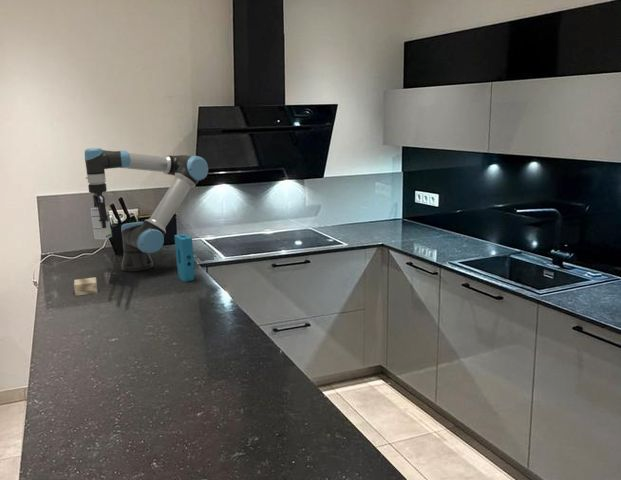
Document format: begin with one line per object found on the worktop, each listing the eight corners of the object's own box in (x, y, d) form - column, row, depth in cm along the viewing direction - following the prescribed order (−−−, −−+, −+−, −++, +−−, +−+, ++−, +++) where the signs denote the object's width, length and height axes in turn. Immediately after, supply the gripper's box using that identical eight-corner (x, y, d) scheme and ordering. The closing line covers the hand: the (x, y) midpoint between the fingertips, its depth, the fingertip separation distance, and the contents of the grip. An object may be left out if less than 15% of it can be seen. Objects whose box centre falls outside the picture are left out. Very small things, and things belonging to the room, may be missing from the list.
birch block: (97, 287, 259) (96, 277, 258) (97, 293, 251) (96, 282, 250) (75, 290, 256) (74, 279, 255) (75, 296, 248) (74, 285, 247)
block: (177, 276, 272) (173, 235, 268) (187, 274, 275) (184, 233, 270) (185, 282, 262) (181, 239, 258) (195, 280, 265) (192, 238, 260)
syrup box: (105, 239, 259) (102, 207, 256) (93, 239, 261) (90, 207, 257) (112, 236, 265) (108, 205, 262) (100, 236, 266) (97, 205, 263)
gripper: (84, 182, 264) (90, 230, 269) (92, 186, 247) (98, 238, 252) (101, 180, 268) (106, 228, 273) (110, 184, 250) (116, 236, 255)
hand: (102, 233), depth 262 cm, fingers closed on syrup box, 8 cm apart
